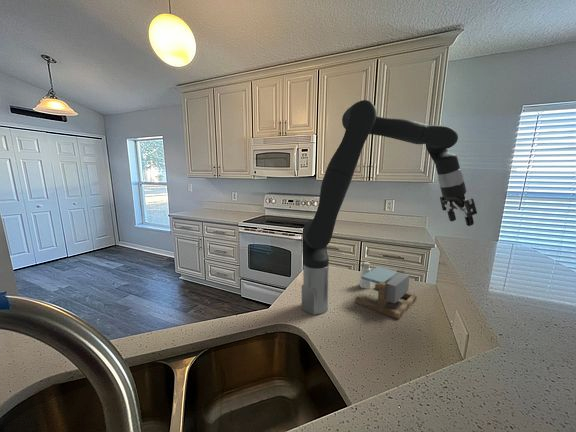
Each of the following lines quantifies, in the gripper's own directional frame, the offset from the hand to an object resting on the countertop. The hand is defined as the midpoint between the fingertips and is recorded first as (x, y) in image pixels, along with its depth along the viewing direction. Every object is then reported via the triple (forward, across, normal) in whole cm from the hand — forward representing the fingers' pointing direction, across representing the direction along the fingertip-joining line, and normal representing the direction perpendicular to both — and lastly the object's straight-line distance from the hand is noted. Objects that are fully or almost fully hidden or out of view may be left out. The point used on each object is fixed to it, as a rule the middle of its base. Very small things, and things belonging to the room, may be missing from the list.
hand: (461, 222), depth 93 cm
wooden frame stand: (+19, 0, -37) cm, 42 cm away
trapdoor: (+15, -1, -36) cm, 39 cm away
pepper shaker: (+19, -14, -40) cm, 46 cm away
